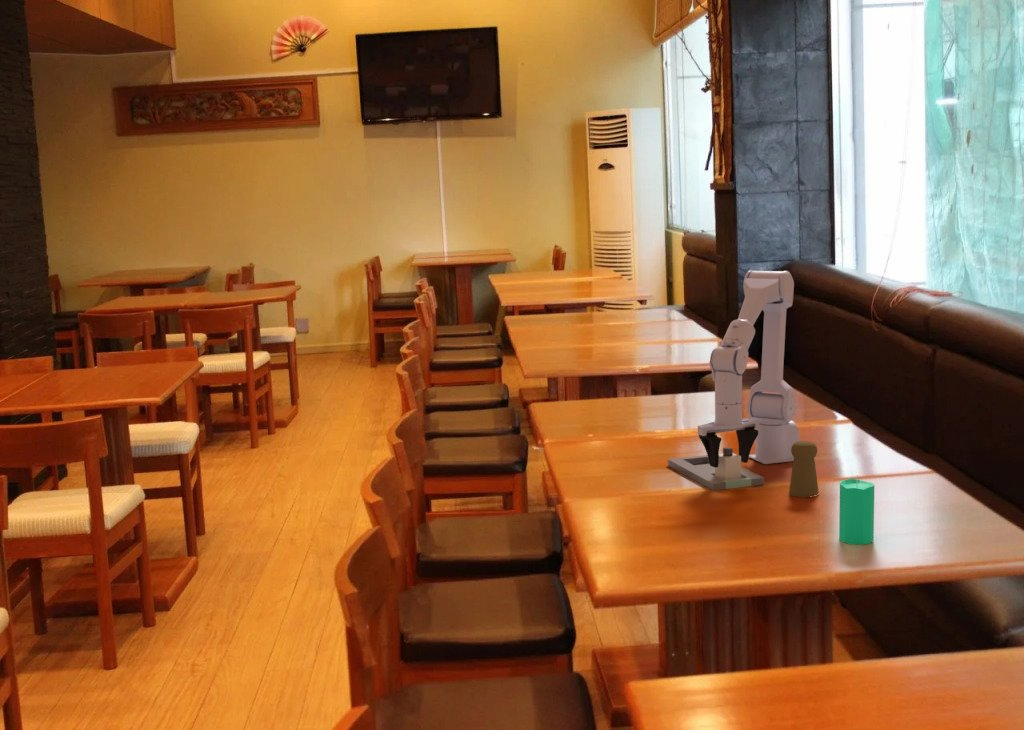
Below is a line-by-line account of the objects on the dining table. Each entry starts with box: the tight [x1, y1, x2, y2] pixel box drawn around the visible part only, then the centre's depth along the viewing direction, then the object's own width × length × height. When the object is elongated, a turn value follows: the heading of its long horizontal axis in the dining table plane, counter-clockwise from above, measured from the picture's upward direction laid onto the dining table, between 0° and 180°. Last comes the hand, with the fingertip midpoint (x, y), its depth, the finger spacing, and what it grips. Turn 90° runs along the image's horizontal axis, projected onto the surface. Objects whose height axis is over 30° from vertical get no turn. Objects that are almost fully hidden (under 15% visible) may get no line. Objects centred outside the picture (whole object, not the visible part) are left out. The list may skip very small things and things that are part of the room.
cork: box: [788, 440, 820, 498], centre depth 237 cm, size 6×6×11 cm
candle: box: [838, 474, 875, 546], centre depth 207 cm, size 6×6×12 cm
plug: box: [715, 446, 742, 480], centre depth 248 cm, size 4×4×8 cm
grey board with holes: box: [667, 454, 765, 491], centre depth 255 cm, size 12×23×2 cm, turn 16°
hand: (728, 464), depth 248 cm, fingers open, 7 cm apart
